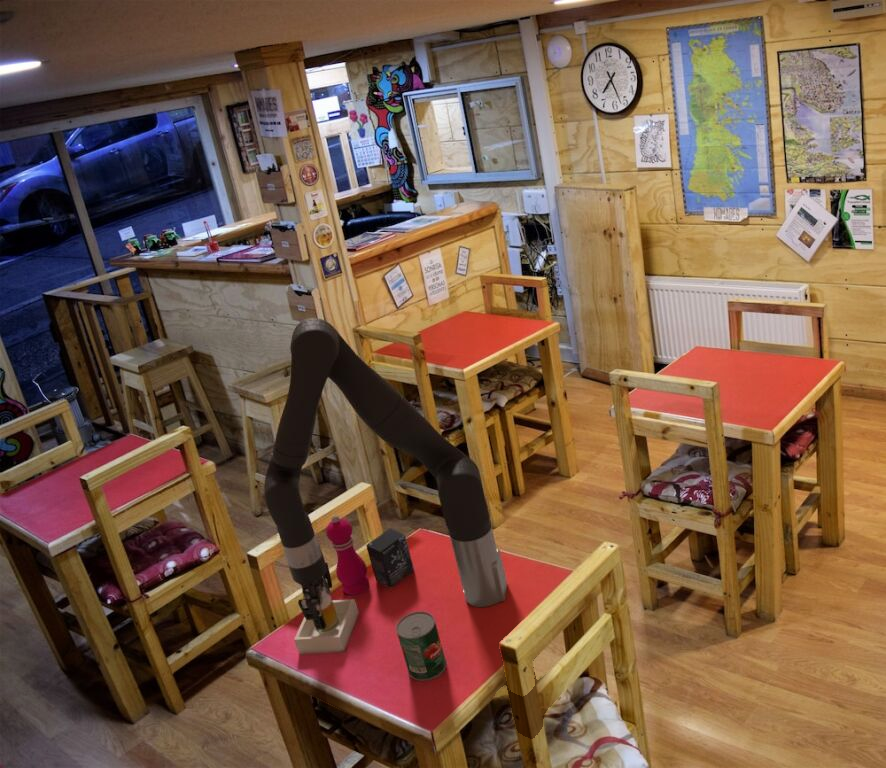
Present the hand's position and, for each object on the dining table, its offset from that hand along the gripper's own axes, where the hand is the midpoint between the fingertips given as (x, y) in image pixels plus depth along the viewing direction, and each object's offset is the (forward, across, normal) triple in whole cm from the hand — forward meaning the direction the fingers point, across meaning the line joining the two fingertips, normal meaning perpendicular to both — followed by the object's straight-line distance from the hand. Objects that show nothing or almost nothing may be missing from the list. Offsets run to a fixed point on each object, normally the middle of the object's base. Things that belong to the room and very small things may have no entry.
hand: (325, 618), depth 193 cm
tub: (+4, 0, 0) cm, 4 cm away
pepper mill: (+4, +16, -2) cm, 17 cm away
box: (+4, +19, -11) cm, 22 cm away
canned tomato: (+4, -12, -24) cm, 28 cm away
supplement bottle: (+2, 0, 0) cm, 2 cm away
